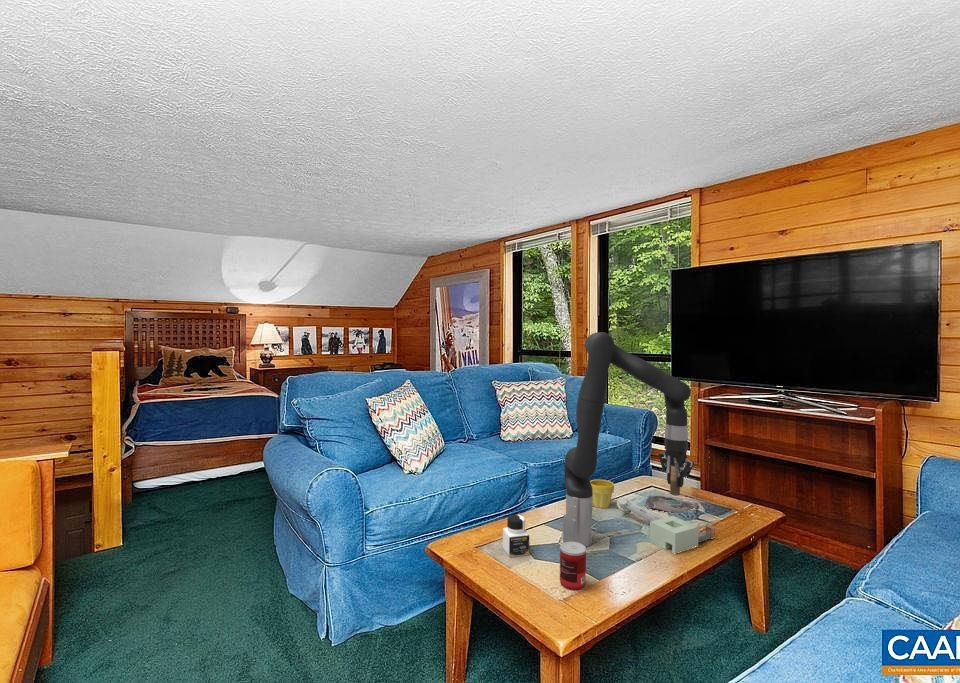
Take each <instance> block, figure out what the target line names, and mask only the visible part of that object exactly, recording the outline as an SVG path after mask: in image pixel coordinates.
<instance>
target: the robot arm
mask: <svg viewBox="0 0 960 683" xmlns="http://www.w3.org/2000/svg"><path fill="white" fill-rule="evenodd" d="M584 341H585V342H584V348H585V351H586V353H587V364H586V372H585V375H584V377H583V380H582V382H581V385H580V389H579V392H578V395H577V403H576V410H575V416H576V426H577V442H576V446H575V447H573V448H570V449H568V451H567V452H566V454H565V458H564V467H563V468H564V471H563V472H564V485H565V490H566V491H565V514H563V516H562V517H563V524H562V527H563V528H562V529H563V530H562V541H563V543H565V542H577V543H580V544H582V545H584V546H585V547H590V546H591V545H592V538H593V532H592V531H593V501H592V500H593V488H592V485H591V483H590V481H591V476H593V475H594V473H595V471H596V468H597V462H598V445H599V437H600V432H601V424H602V418H603V414H604V407H605V402H606V392H607V384H608V383H607V382H608V373H609V369H610V365H611V364H612V365H613V366H616V367H618V368H619V369H621V370H622V371H624V372H626V373H627V374H629V375H630V376H632V377H634V378H635V379H637V380H639V381H640V382H642V383H644V385H645V384H646V386H649V387H650V388H652V389H655V390H657V391H659V392H661V393H662V394H664V404H665V409H666V412H665V413H666V414H665V428H664V449H665V451H664V452H662V453H661V452H660V453H658V459H659V463H660V466H661V468H662V471H665V472H666V481H667V484H668V485H670V477H671V465H674V466H675V470H676V471H677V476H678V477H677V487H678V488H680V489H681V488H682V487H683V486H684V479H685V477H689V476H690V475H691V471H692V470H693V468H694V465H695V462H694V460H693V461H691V460H689V459H688V456H687V453H688V448H689V447H688V446H689V445H688V444H689V443H688V441H689V440H688V438H689V431H688V430H689V429H688V411H687V409H686V407H685V402H686V401H688V400H689V399H690V397H691V395H692V392H691V388H690V386H689V385H688V384H687V383H685V382H684V381H682V380H680V379H679V378H676V377H674V376H673V375H670V374H668V373H667V372H665V371H664V370H662V369H661V368H659V367H657V366H656V365H653V364H652V363H650V362H648V361H646V360H644V359H643V358H640V357H638V356H635V355H634V354H632V353H629V352H627V351H626V350H624V349H622V348H621V347H619V346H618V345H616V343H615V342H614V338H613V337H612V336H611V335H610V334H609V333H607V332H602V331H601V332H593V333H591V334H590V335H589V336H587V337H586V339H585V340H584ZM679 467H680V468H679Z"/></svg>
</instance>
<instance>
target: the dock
mask: <svg viewBox="0 0 960 683" xmlns="http://www.w3.org/2000/svg"><path fill="white" fill-rule="evenodd" d="M699 530H700V528H699V526H697V525H695V524H693V523H691V522H688V521H686V520H684V519H682V518H679V517H676V516H675V515H671V516H667V517H663V518H662V519H658V520H654V521H651V522H649V536H648V537H649V540H648V541H649V543H652V544H653V545H656V546H657V545H658V546H657V547H660V548H661V549H663V550H665V549H666V550H669V549H671V553H672V554H673V553H678V552H680V551H683V550H686V549H689V548H692V547H695V546H698V547H699V543H698V535H699V533H700V531H699ZM671 547H672V548H671ZM668 548H669V549H668ZM678 554H679V553H678Z"/></svg>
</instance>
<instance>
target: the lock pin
mask: <svg viewBox="0 0 960 683" xmlns="http://www.w3.org/2000/svg"><path fill="white" fill-rule="evenodd" d="M713 537H715V538H716V527H715V526H712V525H710V524H708V525H705V531H703V532H699V535H698V542H699V543H702V542H705V541H708V540H707V539H709V540H711V539H710V538H713ZM704 540H705V541H704Z"/></svg>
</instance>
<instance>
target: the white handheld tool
mask: <svg viewBox="0 0 960 683" xmlns="http://www.w3.org/2000/svg"><path fill="white" fill-rule="evenodd" d="M616 507H618V510H620V511H621V512H622V513H627V514H630V513H634V514H636V515H637V516H639V517H641V518H642V519H644V520H646V521H648V522H649V523H650V522H651V521H654V520H658V519H662V518H664V517H663V516H661V515H659V514H656V513H654V512H653V511H651V510H649V509H646V508H645V507H643V506H641V505H638V504H636V503H633V501H631V499H628V498H626V497H623V496H621V497H619V498H618V499H617V501H616Z"/></svg>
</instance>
